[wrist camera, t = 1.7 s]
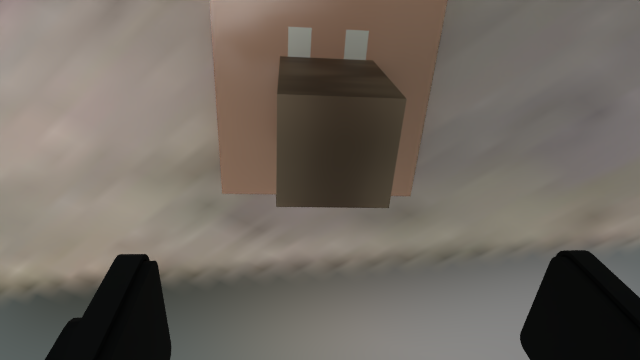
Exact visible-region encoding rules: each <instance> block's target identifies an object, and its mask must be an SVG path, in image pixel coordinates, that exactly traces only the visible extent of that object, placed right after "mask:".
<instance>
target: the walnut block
mask: <svg viewBox="0 0 640 360" xmlns="http://www.w3.org/2000/svg"><path fill="white" fill-rule="evenodd" d="M406 100H407V99H406V98H405V96H404V95H403V94H402V93H401V92H400V91H399V90H398V88H397V87H396V86H395V85H394V84H393V83H392V82H391V80H390V79H389V78H388V77H387V76H386V75H385V74H384V72H383V71H382V70H381V69H380V68H379V67H378V66H377V64H376V63H375V62H374V61H373V60H353V59H331V58H308V57H286V56H280V65H279V77H278V89H277V176H276V207H348V208H389V204H390V197H391V191H392V185H393V179H394V173H395V167H396V161H397V155H398V149H399V143H400V136H401V130H402V124H403V118H404V112H405V106H406Z"/></svg>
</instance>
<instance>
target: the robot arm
mask: <svg viewBox="0 0 640 360" xmlns="http://www.w3.org/2000/svg"><path fill="white" fill-rule="evenodd" d="M520 340H521V344H522V347H523V349H524V351H525V352H526V354H527V355H528V357H529V359H530V360H640V298H639V297H638V296H637V295H636V294H635V293H634V292H633V291H632V290H631V289H630V288H628V287H627V286H626V285H625V284H624V283H623V282H622V281H621V280H620V279H619V278H618V277H617V276H616V275H614V274H613V273H612V272H611V271H610V270H609V269H608V268H607V267H606V266H605V265H604V264H603V263H602V262H600V261H599V260H598V259H597V258H596V257H595V256H594V255H593V254H592V253H590V252H589V251H585V250H571V251H560V252H559V253H558V254H557V255H556V257H554V258H552V259H551V261H550V263H549V266H548V268H547V270H546V273H545V275H544V278H543V280H542V282H541V285H540V287H539V290H538V292H537V295H536V297H535V300H534V302H533V304H532V307H531V309H530V312H529V314H528V316H527V319H526V321H525V323H524V326H523V329H522V331H521V334H520ZM170 356H171V340H170V334H169V328H168V323H167V317H166V311H165V305H164V299H163V293H162V287H161V281H160V275H159V269H158V264H157V262H156V261H149V257H148V256H147V255H146V254H120V255H118V256H117V257H116V258H115V260H114V262H113V263H112V265H111V267H110V269H109V270H108V272H107V274H106V276H105V278H104V279H103V281H102V283H101V285H100V286H99V288H98V290H97V292H96V293H95V295H94V297H93V299H92V301H91V302H90V304H89V306H88V308H87V310H86V311H85V313H84V315H83V317H82V318H73V319H72V320H70V321H69V322H68V323H67V324H66V326H65V327H64V328H63V330H62V332H61V333H60V335H59V337H58V338H57V340H56V342H55V344H54V345H53V347H52V349H51V350H50V352H49V354H48V355H47V357H46V359H45V360H170Z"/></svg>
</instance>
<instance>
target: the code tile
mask: <svg viewBox="0 0 640 360" xmlns="http://www.w3.org/2000/svg"><path fill="white" fill-rule="evenodd" d="M209 1H210V16H211V31H212V46H213V61H214V76H215V91H216V106H217V121H218V136H219V151H220V166H221V181H222V194H276V176H277V89H278V77H279V65H280V56H286V57H308V58H331V59H353V60H373V61H374V62H375V63H376V64H377V66H378V67H379V68H380V69H381V70H382V71H383V72H384V74H385V75H386V76H387V77H388V78H389V79H390V80H391V82H392V83H393V84H394V85H395V86H396V87H397V88H398V90H399V91H400V92H401V93H402V94H403V95H404V96H405V98H406V99H407V100H406V106H405V112H404V118H403V124H402V130H401V136H400V143H399V149H398V155H397V161H396V167H395V173H394V179H393V185H392V191H391V196H410V195H411V190H412V184H413V179H414V174H415V169H416V163H417V158H418V153H419V148H420V142H421V137H422V132H423V127H424V121H425V116H426V111H427V106H428V100H429V95H430V90H431V85H432V80H433V74H434V69H435V64H436V59H437V53H438V48H439V43H440V38H441V32H442V27H443V22H444V17H445V11H446V6H447V1H448V0H209Z"/></svg>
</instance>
